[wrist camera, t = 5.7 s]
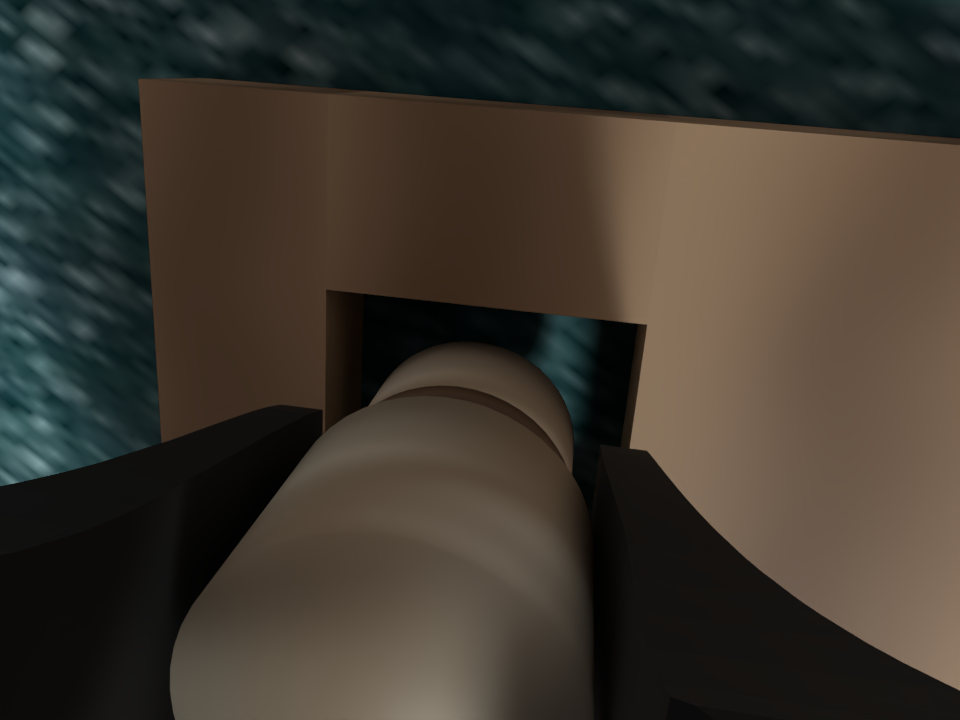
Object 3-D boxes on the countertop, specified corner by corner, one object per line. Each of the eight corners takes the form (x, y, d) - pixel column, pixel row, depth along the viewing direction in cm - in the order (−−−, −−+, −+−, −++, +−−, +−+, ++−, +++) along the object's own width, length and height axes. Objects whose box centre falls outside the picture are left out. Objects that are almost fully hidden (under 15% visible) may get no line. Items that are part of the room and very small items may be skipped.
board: (1150, 153, 12) (1252, 168, 10) (961, 719, 15) (1011, 812, 13) (205, 78, 13) (138, 78, 11) (224, 603, 17) (176, 671, 15)
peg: (607, 336, 12) (620, 564, 6) (579, 560, 13) (568, 914, 8) (354, 309, 12) (157, 504, 7) (349, 529, 14) (180, 846, 8)
